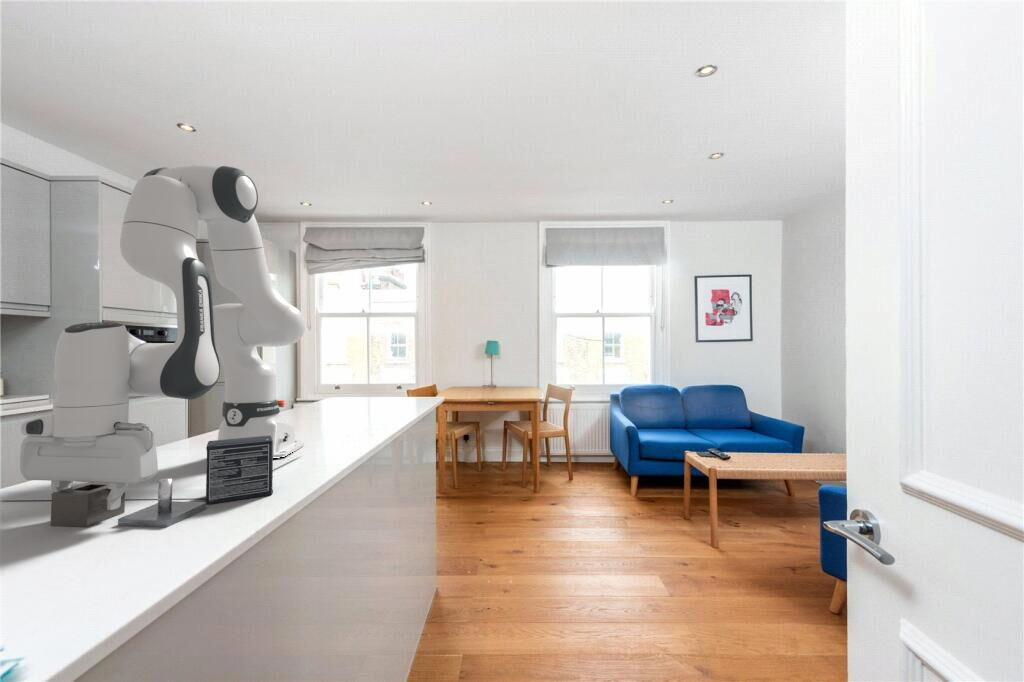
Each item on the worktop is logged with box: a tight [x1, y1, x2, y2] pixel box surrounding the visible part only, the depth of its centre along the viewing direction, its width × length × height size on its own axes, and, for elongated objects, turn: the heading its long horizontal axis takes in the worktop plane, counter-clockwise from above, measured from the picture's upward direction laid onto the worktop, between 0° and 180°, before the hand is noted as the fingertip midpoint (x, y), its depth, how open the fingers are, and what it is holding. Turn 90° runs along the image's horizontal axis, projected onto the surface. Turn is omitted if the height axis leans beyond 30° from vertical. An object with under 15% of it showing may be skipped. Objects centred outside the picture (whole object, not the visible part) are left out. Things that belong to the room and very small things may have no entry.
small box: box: [204, 435, 274, 506], centre depth 81 cm, size 11×6×10 cm, turn 122°
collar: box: [50, 482, 126, 528], centre depth 69 cm, size 6×6×5 cm
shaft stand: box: [117, 477, 208, 528], centre depth 71 cm, size 8×8×6 cm
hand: (89, 508), depth 69 cm, fingers closed on collar, 6 cm apart
